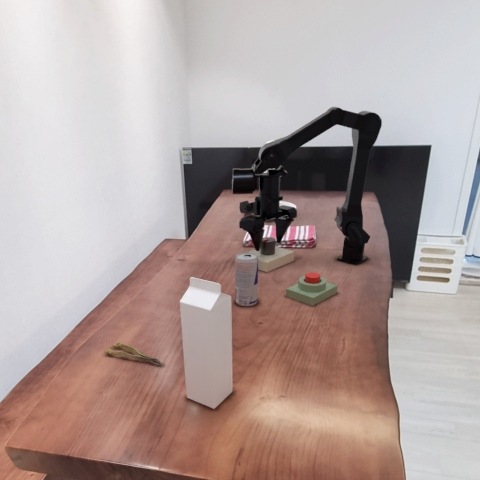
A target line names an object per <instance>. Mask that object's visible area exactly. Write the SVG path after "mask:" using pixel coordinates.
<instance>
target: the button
mask: <svg viewBox="0 0 480 480" xmlns="http://www.w3.org/2000/svg"><path fill="white" fill-rule="evenodd" d="M304 276H305V282H306V283H310V284H316V283H320V277H321V274H320V273H318V272H315V271H314V272H306V273H305V274H304Z"/></svg>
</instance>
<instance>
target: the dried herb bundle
mask: <svg viewBox="0 0 480 480" xmlns="http://www.w3.org/2000/svg"><path fill="white" fill-rule="evenodd" d="M112 347H113V348H114V349H118V348H120V349H124V350H127V351H128V352H129V353H128V352H125V351H118V350H117V351H116V350H111V349H110V348H107V350H105V353H107V354H108V355H113V356H118V357H122V358H131V359H136V360H141V361H146V362H150V363H155V364H158V365H159V366H161V367H162V363H161V361H160V360H159V359H157V358H155V357H151V356H150V355H149V356H148V355H146V354H145V353H143V352H142V351H140V350H139V349H137V348H136V347H133V346H132V345H128V344H126V343H122V342H116V343H115V344H112ZM130 353H134V354H130Z"/></svg>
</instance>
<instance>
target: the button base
mask: <svg viewBox="0 0 480 480" xmlns="http://www.w3.org/2000/svg"><path fill="white" fill-rule="evenodd" d="M337 293H338V285H337V284H334V283H332V282H328V281H327V279H326V278H324V277H323V276H320V283H316V284H310V283H306V282H305V275H302V276H301V277H299V279H298V283H295V284H293V285H291V286H289V287H287V288H286V292H285V297H286V298H290V299H291V300H295V301H298V302H300V303H303V304H306V305H309V306H312V307H313V306H315V305H317V304H319V303H321V302H323V301H325V300H326V299H328V298H330V297H332V296H334V295H337Z"/></svg>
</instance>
